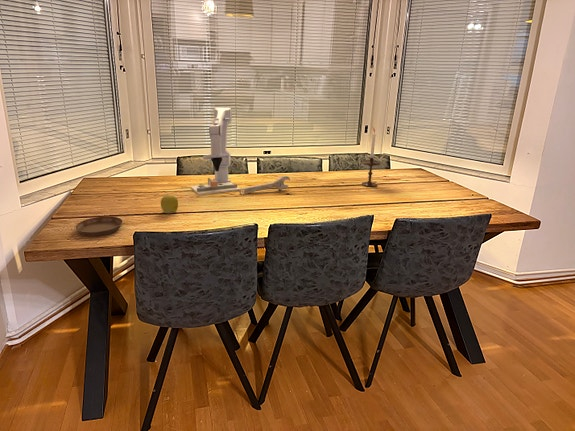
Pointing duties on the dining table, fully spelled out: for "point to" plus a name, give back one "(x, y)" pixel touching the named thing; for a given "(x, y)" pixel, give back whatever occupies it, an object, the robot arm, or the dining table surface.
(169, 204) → the apple
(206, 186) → the hole plate
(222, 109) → the robot arm
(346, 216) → the dining table surface
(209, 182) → the leg
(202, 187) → the bar
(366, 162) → the candlestick
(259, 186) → the wrench
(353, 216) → the dining table surface
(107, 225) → the plant saucer
